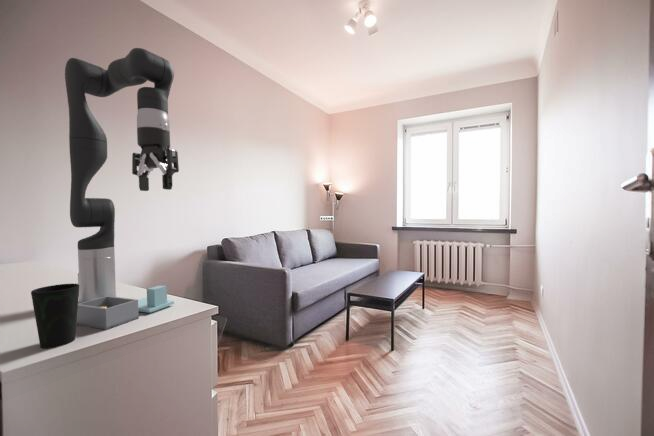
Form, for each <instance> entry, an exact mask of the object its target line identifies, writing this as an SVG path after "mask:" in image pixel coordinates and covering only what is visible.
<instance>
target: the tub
mask: <svg viewBox="0 0 654 436" xmlns="http://www.w3.org/2000/svg"><path fill="white" fill-rule="evenodd" d="M138 300H139V299H135V298H128V297H127V298H126V297H119V296H116V297H112V296H106V297H102V298H98V299H94V300H90V301H87V302H83V303H80V302H78V310H77V322H76V326H77V325H79V326H83V327H89V328H94V329H99V330H105V331H108V330H110V329H113V328H117V327H119V326H121V325H124V324H128V323H129V322H133V321H135V320H137V319H139V315H140V314H139V313H140V312H139V311H138Z"/></svg>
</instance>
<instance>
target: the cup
mask: <svg viewBox="0 0 654 436" xmlns="http://www.w3.org/2000/svg"><path fill="white" fill-rule="evenodd" d="M30 295H31V300H32V306H33V311H34V312H33V313H34V319H35V324H36V330H37V337H38V341H39V347H40V348H41V349H53V348H54V349H55V348H59V347H62V346H64V345H65V346H66V345H68V344H70V343H72V342H74V341H75V340H76V334H77V332H76V331H77V324H76V322H77V310H78V304H79V284H78V283H61V284H53V285H47V286H43V287H39V288H35V289H32V290H31V291H30Z"/></svg>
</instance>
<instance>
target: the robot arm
mask: <svg viewBox="0 0 654 436" xmlns="http://www.w3.org/2000/svg"><path fill="white" fill-rule="evenodd" d="M64 79H65V80H64V81H65V88H66V89H65V90H66V95H67V96H66V97H67V104H68V106H67V107H68V119H69V122H68V125H69V126H68V129H69V130H68V131H69V132H68V140H69V143H68V145H69V146H68V147H69V158H70V159H69V161H70V177H71V179H70V181H71V182H70V199H69V200H70V201H69V218H70V222H71V224H72V225H73V227H75V228H99V227H100V228H99V230H98V231H97V232H95V233H94V234H92V235H90V236H87V237H84V238H82V239H79V240H78V241H77V263H78V273H77V284H79V297H78V303H83V302H87V301H90V300H94V299H98V298H102V297H106V296H112V297H117V290H116V289H117V287H116V286H117V285H116V282H117V281H116V258H115V257H116V255H115V221H116V219H115V218H116V217H115V216H116V215H115V214H116V212H115V211H116V210H115V209H116V208H115V204H114V202H113V200H112V199H110V198H105V197H104V198H100V197H97V198H96V197H86V193H87V192H86V191H87V188H88V186H89V184H90V183H91V181H92V180H93V177H95V175H96V174H97V173H98V172H99V170H101V168H102V167H103V166H104V164H105V163H106V161H107V159H108V138H107V135H106V133H105V131H104V130H103V128H102V126H101V125H100V124H99V122H98V120H97V119H96V118H95V117H94V115H93V114H92V111H91V110H90V107H89V105H88V102H87V97H86V95H87V94H88V95H90V96H93V97H97V98H98V97H99V98H106V97H109V96H112V95H113V94H115V93H116V92H117V93H118V92H119V91H120V90H123V89H125V88H128V87H134V86H140V85H143V84H145V83H146V82H147V81H148V82H150V83H153V85H154V86H150V87H149V86H143V87H140V88H138V90H137V91H136V92H137V93H136V98H137V99H136V100H137V101H136V102H137V114H136V132H137V134H136V137H137V139H136V140H137V145H138V147H140V148H141V151H140V153H137V152H133V153H132V154H131V155H132V157H131V158H132V163H131V164H132V165H131V167H132V168H131V174H132V175H135V176H137V177H138V188H139V190H140V191H141V192H148V191H149V190H150V183H149V181H150V180H149V175H150V174H151V172H153V171H154V169H157V168H158V169H159V170H160V171H161V173H162V189H163V190H167V191H170V190H172V189H173V176H174V174H175V173H179V171H180V169H179V168H180V167H179V157H178V155H179V153H178V150H177V149H174V148H171V130H170V129H171V128H170V119H169V106H168V105H169V102H168V100H169V97H170V96H169V95H170V94H171V93H170V92H171V88H172V84H173V81H174V79H175V71H174V67H173V65H172V63H171V62H170V61H169V60H168V59H165V58H164V57H162V56H159V55H158V54H156V53H154V52H152V51H149V50H147V49H145V48H140V47H134V48H132V49H130V51H129V53H127V55H126V56H124V57H122V58H118V59H115V60H113V61H112V62H110V63H109V64H108V66H107V69H105V68H103V67H100V66H99V65H96V64H93V63H91V62H87V61H85V60H82V59H79V58H75V57H71V58H69V59H68V60H66V64H65V68H64Z"/></svg>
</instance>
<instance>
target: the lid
mask: <svg viewBox="0 0 654 436" xmlns="http://www.w3.org/2000/svg"><path fill="white" fill-rule="evenodd" d="M137 300H138V313H147V314H152V313H155V312H158V311H161V310H163V309H166V308H168V307H170V306H171V305H175V301H174V300H169V299H168V290H167V285H156V286H152V287H149V288H146V297H144V298H141V299H137Z"/></svg>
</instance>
